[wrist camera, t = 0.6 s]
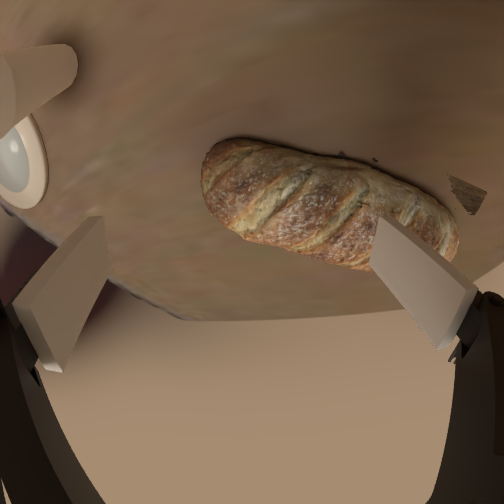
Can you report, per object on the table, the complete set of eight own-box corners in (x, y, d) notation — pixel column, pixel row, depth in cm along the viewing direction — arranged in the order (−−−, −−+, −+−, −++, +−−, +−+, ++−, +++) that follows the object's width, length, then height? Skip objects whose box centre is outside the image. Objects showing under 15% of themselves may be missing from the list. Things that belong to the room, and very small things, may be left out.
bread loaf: (197, 237, 39) (175, 292, 33) (177, 113, 26) (134, 153, 20) (441, 262, 35) (457, 317, 29) (490, 157, 22) (532, 207, 16)
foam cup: (99, 68, 23) (7, 107, 14) (60, 115, 27) (-15, 165, 18) (64, 17, 18) (-28, 41, 9) (29, 68, 22) (-48, 106, 13)
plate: (-27, 94, 24) (-32, 97, 23) (40, 89, 25) (34, 92, 24) (-8, 192, 39) (-11, 196, 38) (58, 216, 40) (54, 221, 39)
